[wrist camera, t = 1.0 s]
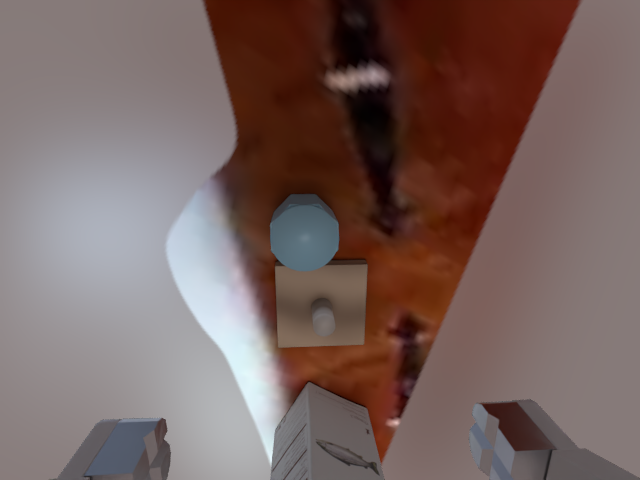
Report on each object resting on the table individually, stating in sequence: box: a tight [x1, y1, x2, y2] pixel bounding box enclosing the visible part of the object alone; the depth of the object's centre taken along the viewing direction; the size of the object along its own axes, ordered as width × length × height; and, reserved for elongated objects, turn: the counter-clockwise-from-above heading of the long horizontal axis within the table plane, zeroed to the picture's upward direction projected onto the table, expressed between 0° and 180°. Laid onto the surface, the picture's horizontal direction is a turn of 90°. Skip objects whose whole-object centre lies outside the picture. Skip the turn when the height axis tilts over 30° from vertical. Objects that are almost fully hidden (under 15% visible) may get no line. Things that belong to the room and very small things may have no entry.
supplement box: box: [271, 382, 385, 480], centre depth 30 cm, size 7×7×13 cm
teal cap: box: [270, 194, 339, 271], centre depth 28 cm, size 5×5×5 cm
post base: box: [275, 260, 368, 348], centre depth 30 cm, size 8×8×4 cm
